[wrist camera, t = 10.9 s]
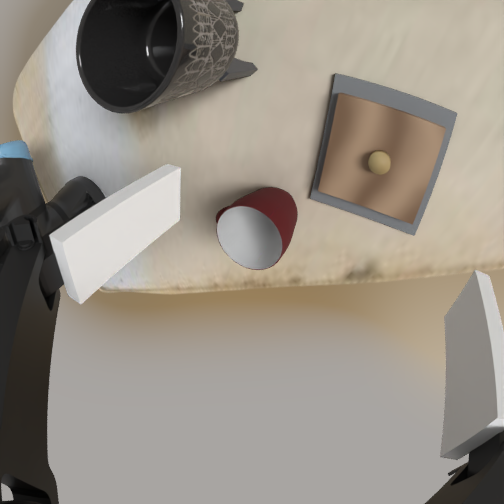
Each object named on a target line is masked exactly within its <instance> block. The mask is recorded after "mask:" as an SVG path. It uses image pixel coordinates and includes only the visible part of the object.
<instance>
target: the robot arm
mask: <svg viewBox="0 0 504 504" xmlns="http://www.w3.org/2000/svg"><path fill="white" fill-rule="evenodd" d="M32 162H33V159H32V158H31V156H30V153H29V150H28V146H27V144H26V143H25V142H24V141H21V140H16V141H11V142H8V143H4V144H1V145H0V504H59V502H58V493H57V485H56V481H55V478H54V475H53V473H52V471H51V469H50V467H49V464H48V455H47V409H48V389H49V376H50V365H51V354H52V347H53V339H54V332H55V325H56V318H57V312H58V307H59V301H60V290H59V288H60V287H61V286H62V285H65V288H66V291H67V294H68V296H69V297H71V298H72V299H74V300H75V301H77V302H78V303H80V304H82V303H83V302H84V301H85V300H86V299H87V298H89V297H90V296H91V295H92V294H93V293H94V292H95V291H96V290H97V289H99V288H100V287H101V286H102V285H103V284H104V283H105V282H106V281H108V280H109V279H110V278H111V277H112V276H113V275H114V274H116V273H117V272H118V271H119V270H120V269H121V268H122V267H124V266H125V265H126V264H127V263H128V262H129V261H131V260H132V259H133V258H134V257H135V256H137V255H138V254H139V253H140V252H141V251H142V250H144V249H145V248H146V247H147V246H148V245H150V244H151V243H152V242H153V241H155V240H156V239H157V238H158V237H159V236H161V235H162V234H163V233H164V232H166V231H167V230H168V229H169V228H170V227H172V226H173V225H174V224H175V223H177V222H178V221H179V220H180V175H181V167H177V166H174V165H170V164H166V165H164V166H162V167H160V168H158V169H156V170H154V171H153V172H151V173H149V174H147V175H145V176H144V177H142V178H140V179H138V180H136V181H135V182H133V183H131V184H129V185H128V186H126V187H124V188H122V189H121V190H119V191H117V192H116V193H114V194H112V195H111V196H109V197H107V198H106V199H105V197H104V195H103V193H102V192H101V191H100V189H99V188H98V187H97V186H96V185H95V184H94V183H93V182H92V181H91V180H89V179H88V178H85V177H76V178H74V179H72V180H70V181H69V182H67V183H66V184H65V186H64V187H63V188H62V189H61V190H60V191H59V192H58V193H57V194H56V196H55V197H54V198H53V199H52V200H51V201H50V202H48V203H46V204H45V201H44V198H43V195H42V192H41V189H40V186H39V183H38V180H37V176H36V173H35V170H34V166H33V163H32ZM444 320H445V340H446V390H445V410H444V425H443V435H442V444H441V452H440V457H444V458H449V459H455V460H458V459H460V458H462V457H463V456H465V455H467V454H468V453H469V461H468V462H467V463H465V464H464V465H462V466H460V467H458V468H456V469H454V470H452V471H451V472H450V473H448V475H449V476H450V475H452V474H454V473H455V474H454V475H453V476H452V477H451V478H450V480H449V481H448V482H447V483H446V484H445V485H444V486H443V487H442V488H441V489H440V490H439V491H438V492H437V493H436V494H435V495H434V496H432V497H431V498H430V499H429V500H428V501H427V502H426V503H425V504H504V331H503V327H502V322H501V318H500V314H499V310H498V306H497V302H496V298H495V295H494V291H493V287H492V284H491V280H490V277H489V275H486V274H484V273H482V272H480V271H477V270H475V271H474V272H473V274H472V276H471V277H470V279H469V281H468V282H467V284H466V285H465V287H464V288H463V290H462V292H461V293H460V295H459V296H458V298H457V299H456V301H455V302H454V304H453V305H452V307H451V308H450V310H449V311H448V313H447V314H446V315H445V317H444ZM1 483H3V484H5V485H7V486H8V487H9V488H10V489H11V491H12V494H13V498H14V500H13V501H2V495H1Z"/></svg>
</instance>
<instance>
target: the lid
mask: <svg viewBox="0 0 504 504" xmlns="http://www.w3.org/2000/svg"><path fill="white" fill-rule="evenodd" d="M445 131H446V128H445V127H444V126H441V125H439V124H436V123H434V122H431V121H429V120H426V119H424V118H421V117H418V116H415V115H413V114H410V113H407V112H404V111H401V110H398V109H395V108H392V107H389V106H386V105H383V104H380V103H377V102H373V101H370V100H367V99H363V98H360V97H356V96H352V95H349V94H345V93H339V94H338V99H337V104H336V109H335V114H334V119H333V124H332V129H331V134H330V139H329V143H328V148H327V153H326V157H325V162H324V166H323V171H322V175H321V180H320V184H319V188H318V191H319V192H322V193H325V194H328V195H331V196H334V197H337V198H340V199H343V200H346V201H349V202H352V203H355V204H358V205H361V206H363V207H366V208H369V209H372V210H375V211H377V212H380V213H383V214H386V215H388V216H391V217H394V218H396V219H399V220H402V221H404V222H407V223H410V224H412V225H413V222H414V220H415V218H416V215H417V212H418V210H419V207H420V205H421V202H422V200H423V197H424V194H425V192H426V189H427V186H428V183H429V180H430V178H431V175H432V172H433V169H434V166H435V163H436V160H437V157H438V154H439V151H440V147H441V144H442V141H443V138H444V134H445Z"/></svg>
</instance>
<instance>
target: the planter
mask: <svg viewBox="0 0 504 504" xmlns="http://www.w3.org/2000/svg"><path fill="white" fill-rule="evenodd" d="M243 4H244V3H242V2H240V1H237V0H91V1H90V3H89V4H88V6H87V8H86V10H85V12H84V14H83V17H82V19H81V22H80V25H79V29H78V34H77V42H76V59H77V66H78V70H79V74H80V77H81V80H82V82H83V84H84V86H85V88H86V90H87V92H88V93H89V94H90V96H91V97H92V98H93V99H94V100H95V101H96V102H97V103H98V104H99V105H101V106H102V107H103V108H105V109H107V110H110V111H112V112H116V113H133V112H137V111H140V110H143V109H146V108H148V107H151V106H154V105H157V104H160V103H163V102H166V101H169V100H172V99H176V98H179V97H182V96H185V95H189V94H192V93H196V92H198V91H201V90H204V89H206V88H208V87H209V86H211V85H212V84H214V83H215V82H216V81H218V80H219V81H225V80H230V79H235V78H240V77H246V76H251V75H252V74H253V73H254V72H255V71H257V70H258V69H257V68H256V67H255V65H254V64H253V63H250V62H244V61H241V60H238V59H236V58H234V57H235V54H236V51H237V46H238V40H239V30H238V23H237V20H236V17H235V14H234V12H233V11H241V10H242V7H243Z"/></svg>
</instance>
